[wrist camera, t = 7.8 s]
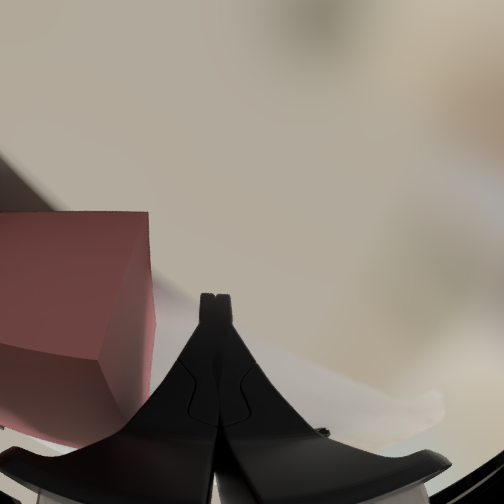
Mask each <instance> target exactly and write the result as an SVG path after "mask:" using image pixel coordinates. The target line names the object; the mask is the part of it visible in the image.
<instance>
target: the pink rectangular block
mask: <svg viewBox="0 0 504 504" xmlns="http://www.w3.org/2000/svg"><path fill="white" fill-rule="evenodd" d="M155 329H156V318H155V309H154V299H153V289H152V277H151V263H150V246H149V220H148V212H127V211H125V212H124V211H40V212H3V213H0V425H2V426H4V427H7V428H10V429H12V430H15V431H18V432H21V433H24V434H26V435H30V436H33V437H36V438H39V439H42V440H46V441H49V442H53V443H57V444H60V445H64V446H69V447H73V448H77V449H80V448H83V447H85V446H88V445H90V444H92V443H95V442H97V441H99V440H102V439H104V438H106V437H108V436H111V435H113V434H114V433H116V432H117V431H119V430H120V429H121V428H122V427H124V426H125V425H126V424H127V423H128V421H129V420H130V419H131V418H132V417H133V416H134V415H135V413H136V412H137V411H138V410H139V409H140V408H141V406H142V405H143V404H144V403H145V402H146V401H147V400H148V398H149V387H150V375H151V365H152V355H153V346H154V337H155Z"/></svg>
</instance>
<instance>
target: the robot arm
mask: <svg viewBox="0 0 504 504" xmlns="http://www.w3.org/2000/svg"><path fill="white" fill-rule="evenodd" d="M232 322H233V316H232V307H231V298H230V295H229V294H217V295H216V297H215V295H214V294H212V293H202V294H201V296H200V307H199V324H198V326H197V328H196V329H195V331H194V332H193V334H192V336H191V337H190V339H189V340H188V342H187V344H186V345H185V347H184V349H183V350H182V352H181V353H180V355H179V357H178V358H177V360H176V361H175V363H174V365H173V366H172V368H171V369H170V371H169V372H168V374H167V375H166V377H165V378H164V380H163V381H162V382H161V384H160V385H159V386H158V387H157V389H156V390H155V391H154V392H153V394H152V395H151V396H150V397H149V398H148V400H147V401H146V402H145V403H144V404H143V405H142V406H141V408H140V409H139V410H138V411H137V412H136V413H135V415H134V416H133V417H132V418H131V419H130V420H129V421H128V423H127V424H126V425H125V426H124V427H122V428H121V429H120V430H119V431H117V432H116V433H114V434H113V435H111V436H108V437H106V438H104V439H102V440H99V441H97V442H95V443H92V444H90V445H88V446H85V447H83V448H80V449H78V450H75V451H73V452H70V453H68V454H65V455H61V456H55V457H48V456H41V455H38V454H35V453H33V452H30V451H28V450H25V449H23V448H20V447H15V446H13V447H11V448H9V449H7V450H5V451H3V452H1V453H0V472H1V473H3V474H4V475H6V476H8V477H9V478H11V479H13V480H14V481H16V482H18V483H19V484H21V485H23V486H24V487H26V488H28V489H30V490H32V491H33V492H35V493H37V494H38V496H37V503H36V504H211V499H212V490H213V481H214V473H215V476H216V482H217V486H218V492H219V497H220V501H221V504H504V450H503V451H501V452H500V453H499V454H497V455H496V456H495V457H493V458H492V459H491V460H489V461H488V462H486V463H485V464H483V465H482V466H480V467H479V468H477V469H476V470H475V471H473V472H471V473H470V474H468V475H467V476H465V477H463V478H462V479H460V480H458V481H457V482H455V483H453V484H452V485H450V486H448V487H447V488H445V489H443V490H441V491H439V492H437V493H436V494H434V495H432V496H430V497H428V494H427V491H426V488H425V486H424V483H425V482H427V481H429V480H430V479H432V478H434V477H435V476H437V475H439V474H440V473H442V472H444V471H445V470H447V469H448V468H449V467H451V466H452V463H451V462H450V461H449V460H448V459H447V458H446V457H444V456H443V455H441V454H439V453H436V452H434V451H431V450H427V449H425V450H421V451H418V452H416V453H413V454H411V455H408V456H404V457H397V458H393V457H392V458H391V457H384V456H380V455H376V454H373V453H370V452H367V451H363V450H360V449H357V448H354V447H351V446H349V445H346V444H343V443H340V442H337V441H335V440H332V439H329V438H328V437H329V436H330V431H329V430H323V431H318V432H317V431H316V430H315V429H313V428H312V427H311V426H310V425H309V424H308V423H307V422H306V421H305V420H304V419H303V418H302V417H301V416H300V415H299V414H298V412H297V411H296V410H295V409H294V408H293V407H292V406H291V405H290V404H289V403H288V402H287V401H286V400H285V399H284V397H283V396H282V395H281V394H280V393H279V392H278V391H277V389H276V388H275V387H274V386H273V385H272V383H271V382H270V381H269V379H268V378H267V377H266V375H265V374H264V372H263V371H262V369H261V368H260V366H259V365H258V364H257V363H256V360H255V359H254V357H253V356H252V354H251V353H250V351H249V350H248V348H247V347H246V345H245V343H244V342H243V340H242V339H241V337H240V336H239V334H238V332H237V331H236V329H235V328H234V326H233V324H232ZM0 504H22V503H21V502H20V501H19V500H17V499H15V498H13V497H11V496H9V495H7V494H6V493H4V492H2V491H0Z"/></svg>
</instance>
